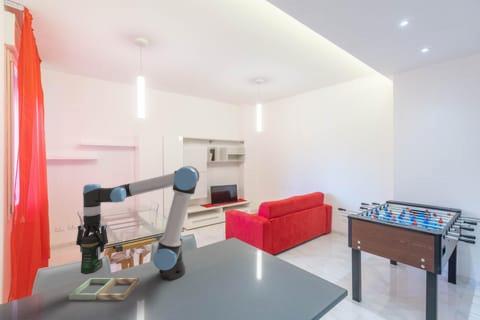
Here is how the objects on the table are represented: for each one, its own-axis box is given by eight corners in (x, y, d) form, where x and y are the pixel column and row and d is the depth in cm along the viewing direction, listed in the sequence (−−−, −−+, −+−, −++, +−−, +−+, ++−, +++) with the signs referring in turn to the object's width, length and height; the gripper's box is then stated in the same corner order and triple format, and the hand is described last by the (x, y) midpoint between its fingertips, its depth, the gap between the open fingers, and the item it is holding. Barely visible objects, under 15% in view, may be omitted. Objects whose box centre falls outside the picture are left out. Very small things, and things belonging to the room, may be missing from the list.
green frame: (113, 282, 123) (113, 278, 123) (95, 299, 108) (95, 294, 108) (90, 282, 123) (90, 277, 123) (69, 299, 108) (69, 294, 108)
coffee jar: (93, 275, 111) (93, 237, 111) (77, 275, 111) (77, 237, 111) (105, 266, 120) (105, 231, 120) (91, 265, 121) (91, 231, 121)
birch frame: (138, 282, 123) (138, 278, 123) (123, 299, 108) (123, 294, 108) (115, 282, 123) (115, 278, 123) (97, 299, 108) (97, 294, 108)
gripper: (116, 212, 119) (116, 255, 119) (78, 212, 120) (78, 255, 120) (107, 216, 112) (107, 261, 112) (66, 216, 112) (66, 261, 112)
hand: (92, 258), depth 116 cm, fingers closed on coffee jar, 8 cm apart
